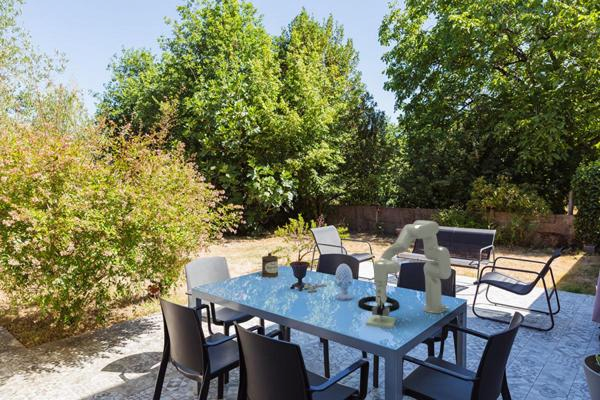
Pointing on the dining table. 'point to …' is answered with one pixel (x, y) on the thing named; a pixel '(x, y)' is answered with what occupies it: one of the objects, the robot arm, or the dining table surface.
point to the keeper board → (381, 321)
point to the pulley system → (310, 287)
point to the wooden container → (270, 266)
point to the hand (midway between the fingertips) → (380, 312)
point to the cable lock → (373, 298)
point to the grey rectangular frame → (385, 311)
